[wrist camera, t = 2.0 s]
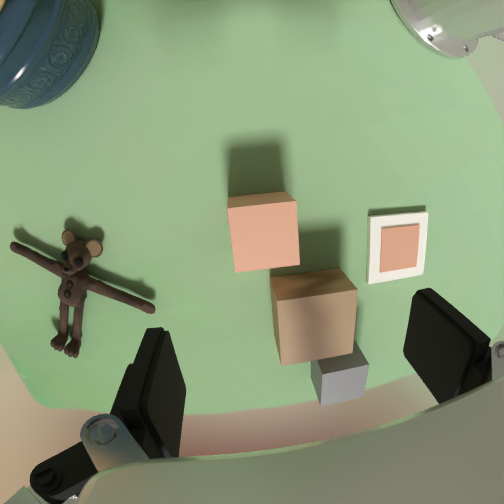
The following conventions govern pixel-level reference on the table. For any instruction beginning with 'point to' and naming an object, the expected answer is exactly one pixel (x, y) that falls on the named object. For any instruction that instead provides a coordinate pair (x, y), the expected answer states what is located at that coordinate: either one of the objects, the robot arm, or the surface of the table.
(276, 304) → the walnut block
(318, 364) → the charcoal block
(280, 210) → the terracotta block
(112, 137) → the table surface
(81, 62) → the canister
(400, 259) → the card
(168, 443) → the robot arm
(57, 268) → the brown spindly figurine
